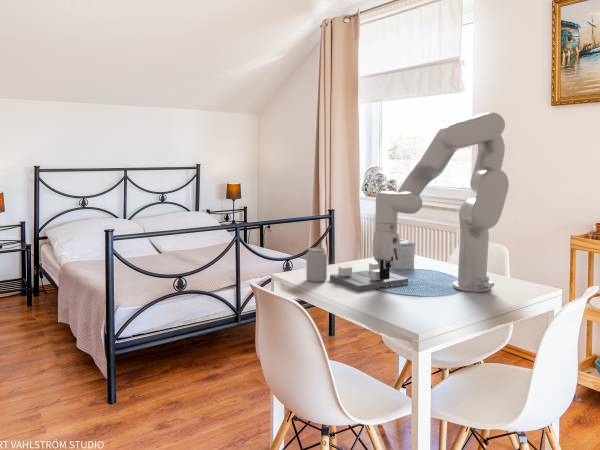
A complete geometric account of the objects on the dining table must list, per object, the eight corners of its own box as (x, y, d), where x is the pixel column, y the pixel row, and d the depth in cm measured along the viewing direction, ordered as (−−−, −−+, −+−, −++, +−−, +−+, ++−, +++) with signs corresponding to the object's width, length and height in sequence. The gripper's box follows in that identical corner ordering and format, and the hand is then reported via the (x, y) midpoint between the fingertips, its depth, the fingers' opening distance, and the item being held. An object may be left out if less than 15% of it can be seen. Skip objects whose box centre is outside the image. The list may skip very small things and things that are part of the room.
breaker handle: (384, 279, 186) (384, 270, 186) (375, 280, 184) (375, 272, 184) (379, 277, 189) (379, 269, 188) (370, 278, 187) (370, 270, 187)
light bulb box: (387, 264, 222) (388, 239, 220) (402, 263, 224) (402, 238, 222) (399, 269, 212) (400, 243, 210) (414, 268, 214) (415, 242, 212)
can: (315, 284, 188) (315, 251, 186) (302, 280, 194) (302, 248, 192) (330, 280, 193) (331, 249, 191) (317, 277, 198) (317, 246, 197)
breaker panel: (408, 283, 189) (408, 269, 188) (358, 291, 178) (358, 276, 177) (377, 273, 204) (377, 260, 204) (329, 280, 194) (330, 266, 193)
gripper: (408, 229, 176) (406, 282, 178) (380, 223, 189) (379, 273, 191) (391, 231, 172) (389, 285, 175) (364, 225, 185) (362, 275, 187)
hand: (384, 279), depth 183 cm, fingers closed
